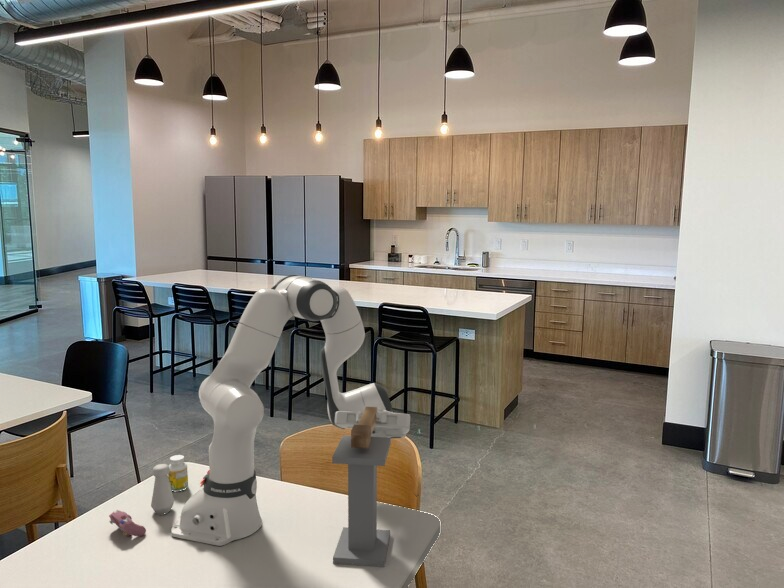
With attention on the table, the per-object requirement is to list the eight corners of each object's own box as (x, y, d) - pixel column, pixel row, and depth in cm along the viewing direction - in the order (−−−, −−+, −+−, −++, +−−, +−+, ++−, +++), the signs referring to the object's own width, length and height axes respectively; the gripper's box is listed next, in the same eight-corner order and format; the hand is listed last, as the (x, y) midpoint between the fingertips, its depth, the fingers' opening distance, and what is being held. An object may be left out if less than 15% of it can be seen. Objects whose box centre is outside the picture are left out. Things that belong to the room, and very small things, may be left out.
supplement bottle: (190, 489, 167) (189, 458, 166) (171, 494, 164) (170, 463, 163) (185, 482, 172) (183, 452, 170) (166, 487, 168) (165, 456, 167)
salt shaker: (166, 517, 151) (163, 471, 150) (147, 515, 153) (144, 469, 151) (178, 506, 157) (176, 462, 155) (160, 504, 158) (157, 460, 156)
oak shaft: (350, 447, 130) (351, 430, 129) (364, 417, 149) (364, 402, 149) (368, 448, 129) (368, 431, 129) (379, 418, 149) (379, 403, 149)
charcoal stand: (333, 563, 132) (332, 457, 128) (343, 532, 145) (343, 435, 141) (384, 566, 131) (384, 459, 127) (390, 535, 144) (390, 437, 140)
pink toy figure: (116, 531, 147) (102, 514, 144) (131, 518, 150) (118, 500, 147) (133, 546, 141) (118, 528, 138) (148, 532, 144) (135, 514, 140)
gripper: (340, 411, 160) (331, 401, 148) (412, 415, 158) (409, 405, 145) (337, 434, 158) (328, 425, 145) (410, 438, 156) (408, 429, 143)
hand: (369, 415), depth 145 cm, fingers closed on oak shaft, 3 cm apart
